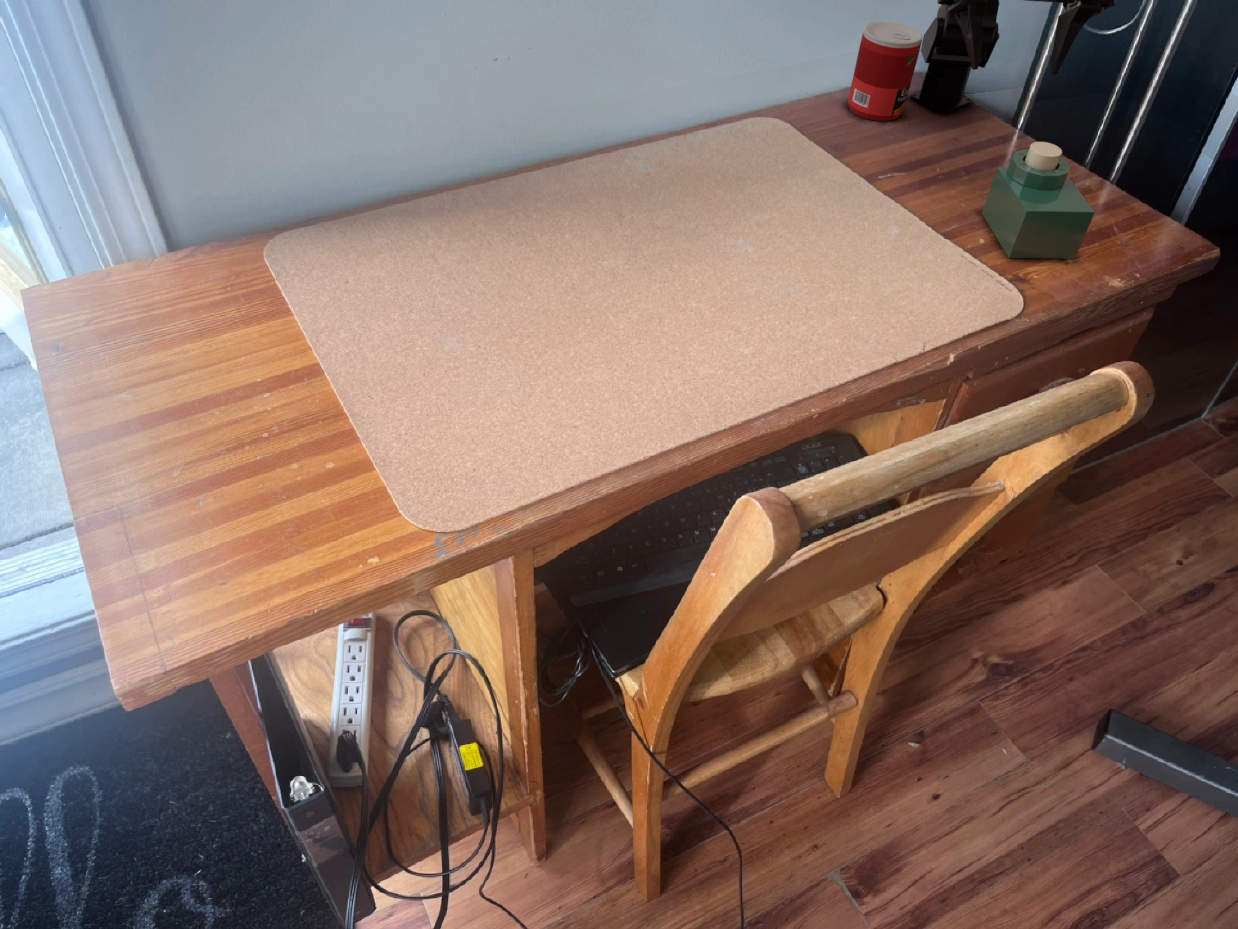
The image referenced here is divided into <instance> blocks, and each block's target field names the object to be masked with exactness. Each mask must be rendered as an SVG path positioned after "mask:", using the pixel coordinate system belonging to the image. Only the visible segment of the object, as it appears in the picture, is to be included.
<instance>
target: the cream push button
mask: <svg viewBox="0 0 1238 929" xmlns="http://www.w3.org/2000/svg"><path fill="white" fill-rule="evenodd" d="M1028 149H1029V150H1028V153H1027V156H1026V158H1025V161H1024V162H1025V164H1026V165H1028V166H1030V167H1032V168H1034V169H1038V170H1042V171H1054V170H1055V169H1056V167H1057V165H1058V162H1059V160H1060V157H1062V154H1063V150H1062V149H1061V147H1059V146H1057V145H1056V144H1053V143H1052V142H1051V143H1050V142H1047V141H1035V142H1032V143H1031V144H1030V145H1029V147H1028Z"/></svg>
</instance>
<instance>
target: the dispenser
mask: <svg viewBox="0 0 1238 929" xmlns="http://www.w3.org/2000/svg"><path fill="white" fill-rule="evenodd" d="M1028 150H1029V148H1024V149H1020V150H1017V151H1014V152H1013V155H1012V156H1011V159H1010V162H1009V165H1008V167H997V168H996V171H995V173H994V177H993V180H992V183H991V185H990V189H989V191H988V194H987V197H986V200H985V203H984V206H983V209H982V212H981V214H982V216H983V218H984V219H985V222H986V223H987V225H988V226H989V228H990V229H991V231H992V233H993V235H994V236H995V238H996V240H997V241H998V243H999V245H1000V246H1001V248H1002V249H1003V251H1004V253H1005V254H1006V256H1007V258H1008V259H1048V260H1049V259H1050V260H1051V259H1052V260H1054V259H1055V260H1057V259H1058V260H1059V259H1060V260H1065V259H1066V260H1075V259H1076V256H1077V254H1078V253H1079V250H1080V248H1081V245H1082V243H1083V240H1084V238H1085V236H1086V234H1087V231H1088V229H1089V228H1090V227H1089V226H1090V224H1091V222H1092V220H1093V218H1094V215H1095V214H1096V212H1095V210H1094V209H1093V207H1092V206H1091V205H1090V204H1089V202H1088V201H1087V200H1086V198H1085V196H1084V195H1083V194H1082V193H1081V192H1080V190H1079V189H1078V188H1077V186H1076V185H1075V183H1073V181H1072V180H1071V179H1070V177H1069V172H1070V170H1071V167H1072V166H1071V165H1070V163H1069V162H1068V161H1067V159H1066V158H1064V157H1062V156H1061V157H1060V160H1059V162H1058V165H1057V167H1056V169H1055V170H1054V171H1042V170H1038V169H1034V168H1032V167H1030V166H1028V165H1026V164H1025V162H1024V161H1025V158H1026V156H1027V153H1028Z"/></svg>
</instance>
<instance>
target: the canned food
mask: <svg viewBox="0 0 1238 929" xmlns="http://www.w3.org/2000/svg"><path fill="white" fill-rule="evenodd" d="M922 41H923V34H922V32H921V31H919V30H918V29H917V28H915V27H913V26H911V25H908V24H905V23H900V22H895V21H875V22H870V23H868V24H866V25H865V26H864V28H863V31H862V35H861V39H860V43H859V48H858V53H857V58H856V62H855V66H854V71H853V76H852V80H851V85H850V90H849V94H848V100H847V102H848V108H849V110H850V111H851V112H852V113H853V114H855V115H856V116H857V117H861V118H863V119H866V120H870V121H876V122H890V121H893V120H896V119H898V118H900V116H901V115H902V114H903V112H904V110H905V106H906V103H907V100H908V96H909V92H910V87H911V84H912V80H913V77H914V73H915V71H916V70H915V69H916V65H917V62H918V58H919V55H920V52H921V47H922Z"/></svg>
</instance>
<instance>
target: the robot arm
mask: <svg viewBox="0 0 1238 929" xmlns="http://www.w3.org/2000/svg"><path fill="white" fill-rule="evenodd" d="M1024 1H1026V2H1027V1H1028V2H1043V3H1055V4H1056V3H1057V4H1058V3H1059V4H1062V7H1063V8H1064V9H1065V12H1063V13H1061V14H1059V15H1058V17H1057V22H1056V27H1055V33H1054V34H1055V35H1054V40H1053V46H1052V53H1051V60H1050V75H1051V76H1056V75H1057V74H1058V73H1059V71H1060V69H1061V67H1062V65H1063V64H1064V62H1065V60H1066V58H1067V56H1068V54H1069V51H1070V50H1071V47H1072V46H1073V44H1074V42H1075V40H1076V38H1077V37H1078V35H1079V33H1080V32H1081V30H1082V29H1083V27H1084V26H1085V24H1086V23H1087V22H1088V20H1090V19H1092V18H1094V17H1095V16H1098V15H1101V14H1102V13H1103V11H1106V10H1108V9H1110V8H1112V7H1115V6H1116V5H1117V3H1118V0H1024ZM936 3H937V4H938V5H939V7H938V9H937V14H936V17H935V18H934V19H933V20H932V22H931V23H930V25H929V26H928V28H927V29H926V31H925V32H924V34H923V35H922V43H921V47H920V53H921V55H922V58H923V61H924V64H928V66H927V69H926V72H925V74H924V78H923V82H922V85H921V89H920V90H919V91H917V92H914V93H911V94H910V97H909V98H910V99H911V100H913V101H915V102H917V103H920V104H921V105H924V106H926V107H928V108H930V109H932V110H933V111H937V112H938V113H941V114H944V115H947V114H948V113H952V112H954V111H956V110H958V109H962V108H965V107H967V106H969V105H970V104H972V99H970V98H968V97H965V96H964V94H965V91H966V88H967V85H968V80H969V77H970V74H971V72H972V71H976V70H978V69H979V68H981V69H985V68H986V66H987V63H988V62H989V61H990V58H991V56H992V53H993V51H994V50H995V47H996V45H997V42H998V40H1000V33H999V23H998V22H997V19H998V12H999V7H1000V0H937V1H936Z"/></svg>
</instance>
